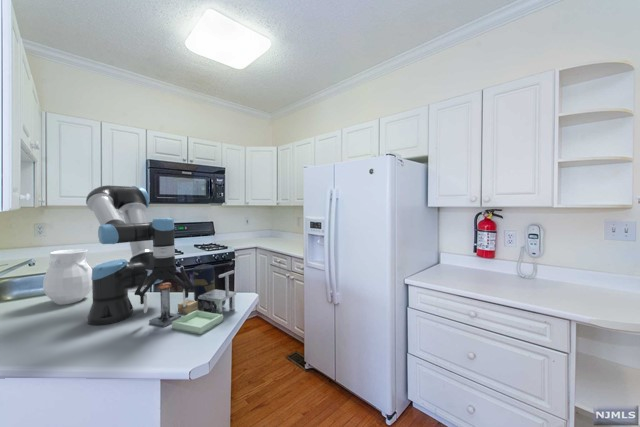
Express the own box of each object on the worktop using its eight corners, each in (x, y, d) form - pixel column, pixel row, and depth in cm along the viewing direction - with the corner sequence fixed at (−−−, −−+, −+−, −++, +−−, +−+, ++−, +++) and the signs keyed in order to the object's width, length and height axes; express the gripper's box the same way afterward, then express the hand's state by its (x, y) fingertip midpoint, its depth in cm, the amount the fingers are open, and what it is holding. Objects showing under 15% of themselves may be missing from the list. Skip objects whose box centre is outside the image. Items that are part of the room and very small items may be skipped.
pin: (156, 322, 106) (155, 285, 106) (166, 318, 110) (165, 282, 110) (164, 324, 105) (163, 286, 104) (174, 319, 109) (173, 283, 108)
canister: (219, 299, 132) (218, 263, 132) (201, 305, 124) (200, 267, 124) (207, 295, 137) (206, 261, 137) (189, 301, 129) (189, 264, 129)
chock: (177, 312, 116) (177, 303, 116) (186, 308, 121) (186, 300, 121) (189, 314, 114) (188, 305, 114) (197, 310, 119) (197, 301, 119)
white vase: (71, 308, 121) (69, 254, 121) (31, 308, 122) (29, 254, 121) (104, 294, 140) (103, 247, 139) (70, 294, 140) (68, 247, 140)
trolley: (198, 314, 114) (197, 273, 114) (215, 305, 124) (214, 268, 123) (220, 318, 110) (219, 275, 109) (236, 308, 120) (235, 270, 119)
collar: (149, 323, 105) (149, 320, 105) (167, 315, 112) (167, 312, 112) (164, 327, 102) (164, 323, 102) (181, 318, 110) (181, 315, 110)
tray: (171, 328, 101) (171, 321, 101) (196, 316, 112) (196, 310, 112) (200, 334, 96) (200, 327, 96) (223, 321, 107) (223, 314, 107)
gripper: (124, 260, 98) (125, 317, 98) (198, 255, 108) (199, 306, 109) (128, 257, 105) (130, 310, 105) (198, 252, 115) (199, 300, 116)
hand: (165, 308), depth 107 cm, fingers open, 13 cm apart
